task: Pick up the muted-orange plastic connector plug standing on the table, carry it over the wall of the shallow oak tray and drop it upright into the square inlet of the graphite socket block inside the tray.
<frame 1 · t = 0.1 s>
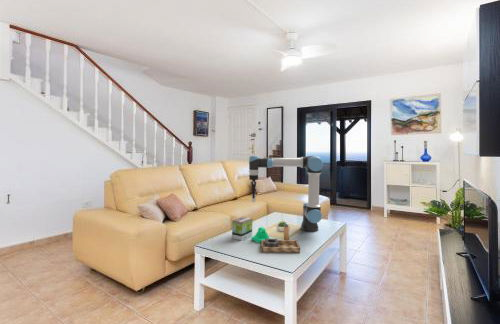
hand: (253, 200, 215), 28 cm above the table, fingers open, 13 cm apart
tea box: (242, 237, 208), on the table
inlet box: (279, 248, 184), on the table
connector: (286, 242, 197), on the table
green lumpy mound: (260, 241, 200), on the table
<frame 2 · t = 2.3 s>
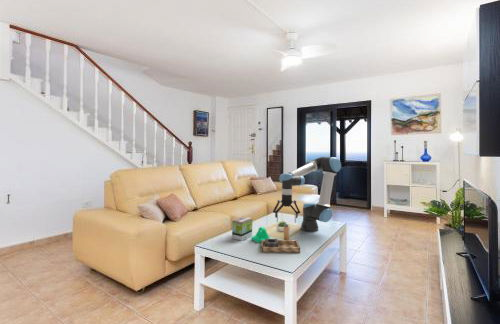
hand: (286, 222, 196), 15 cm above the table, fingers open, 13 cm apart
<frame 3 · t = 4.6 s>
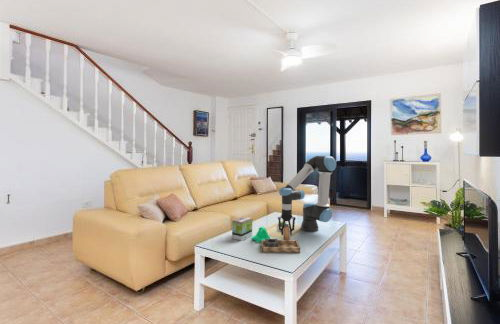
hand: (286, 239, 197), 2 cm above the table, fingers closed on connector, 4 cm apart
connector: (286, 242, 197), on the table, touching gripper
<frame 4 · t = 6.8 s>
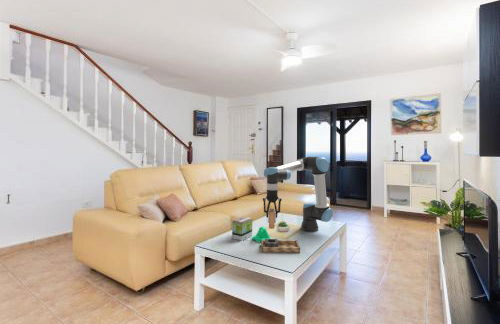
hand: (271, 222, 183), 19 cm above the table, fingers closed on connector, 4 cm apart
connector: (271, 228, 184), point 15 cm above the table, touching gripper
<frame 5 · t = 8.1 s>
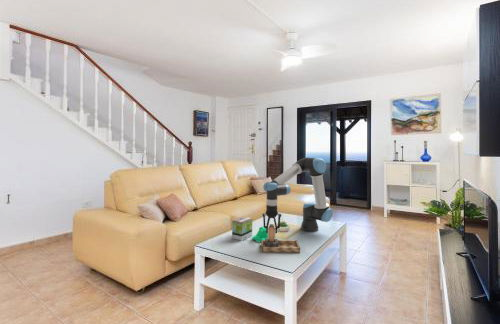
hand: (271, 237, 184), 8 cm above the table, fingers closed on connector, 4 cm apart
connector: (271, 243, 184), point 4 cm above the table, touching gripper
when the fingers open (7 cm above the table, at t = 9.2 s): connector drops 2 cm, resting on inlet box.
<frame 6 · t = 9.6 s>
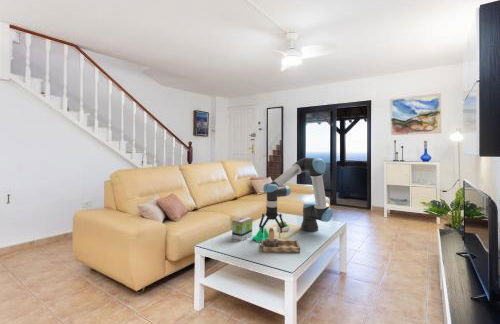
hand: (271, 237, 184), 8 cm above the table, fingers open, 10 cm apart
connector: (271, 247, 184), point 1 cm above the table, touching inlet box
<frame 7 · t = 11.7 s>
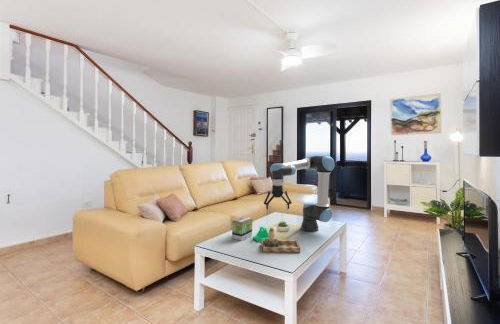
hand: (277, 213, 191), 23 cm above the table, fingers open, 13 cm apart
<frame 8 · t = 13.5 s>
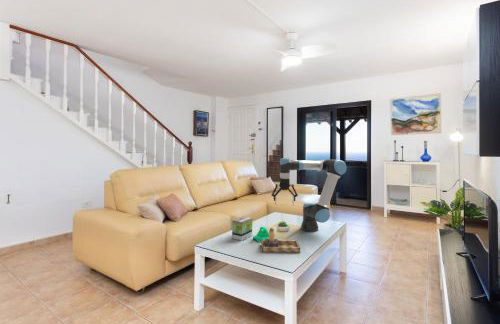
hand: (284, 205, 202), 27 cm above the table, fingers open, 13 cm apart
at the end: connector 0.1 cm from the target spot on the inlet box, point 0.8 cm above the inlet box's base; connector tilted 0°; the gripper is holding nothing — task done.
